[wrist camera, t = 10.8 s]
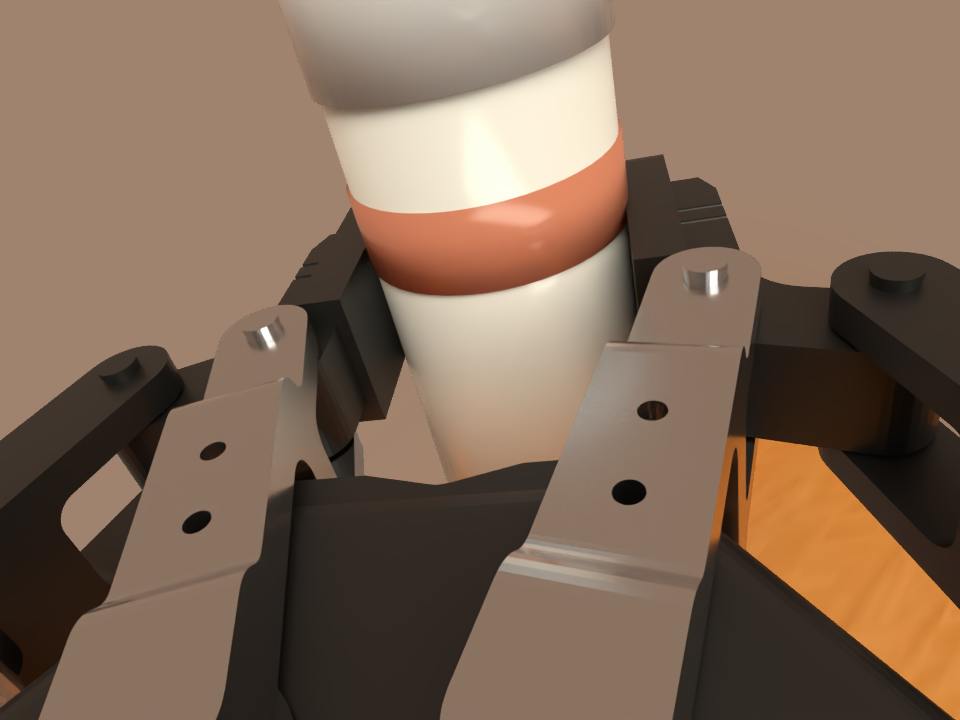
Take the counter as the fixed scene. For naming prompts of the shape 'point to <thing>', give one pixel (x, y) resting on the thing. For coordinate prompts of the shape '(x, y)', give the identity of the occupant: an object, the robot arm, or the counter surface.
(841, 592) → the counter surface
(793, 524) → the counter surface
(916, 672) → the counter surface
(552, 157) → the banded white cylinder
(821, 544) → the counter surface
